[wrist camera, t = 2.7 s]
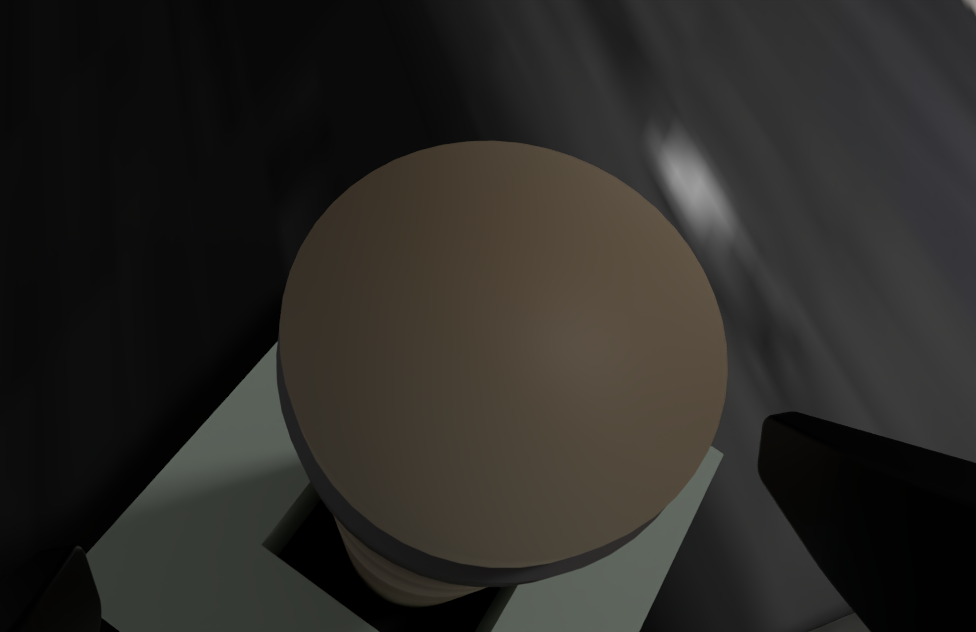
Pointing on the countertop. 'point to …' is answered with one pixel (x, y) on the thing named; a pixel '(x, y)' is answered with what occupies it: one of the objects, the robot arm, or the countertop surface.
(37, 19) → the countertop surface
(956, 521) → the robot arm
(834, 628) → the tray
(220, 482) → the collar
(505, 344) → the pin
